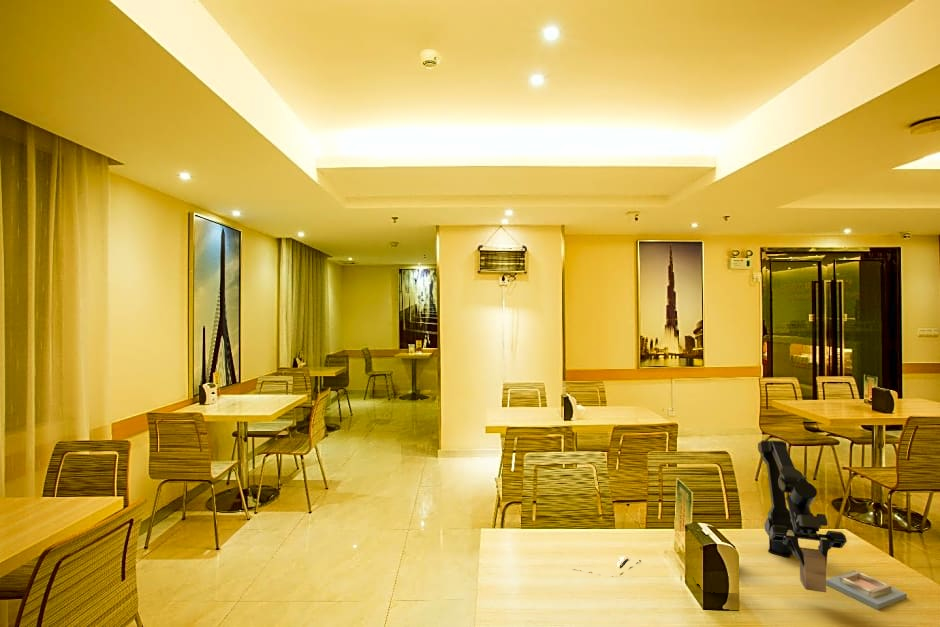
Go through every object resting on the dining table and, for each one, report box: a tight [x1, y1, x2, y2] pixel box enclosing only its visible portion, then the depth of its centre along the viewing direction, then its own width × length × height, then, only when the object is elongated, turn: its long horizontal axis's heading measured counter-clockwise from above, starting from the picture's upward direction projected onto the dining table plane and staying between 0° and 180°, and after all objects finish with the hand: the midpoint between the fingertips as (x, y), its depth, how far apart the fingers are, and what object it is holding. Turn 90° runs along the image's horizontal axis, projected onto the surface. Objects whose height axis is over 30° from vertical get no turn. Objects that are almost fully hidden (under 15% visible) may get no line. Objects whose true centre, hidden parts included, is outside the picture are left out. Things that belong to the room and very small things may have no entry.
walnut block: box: [799, 546, 827, 594], centre depth 140 cm, size 5×5×10 cm
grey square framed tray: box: [826, 570, 908, 610], centre depth 146 cm, size 14×14×3 cm
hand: (814, 566), depth 139 cm, fingers closed on walnut block, 5 cm apart
